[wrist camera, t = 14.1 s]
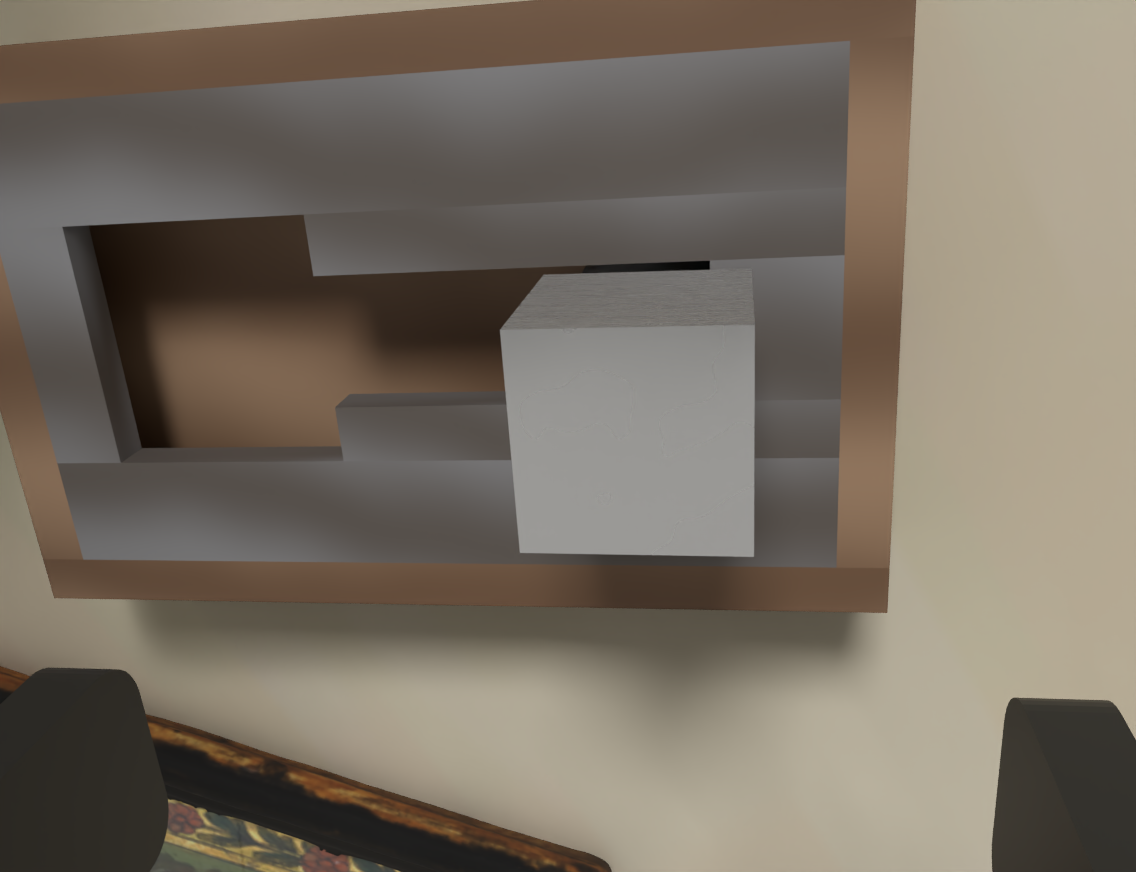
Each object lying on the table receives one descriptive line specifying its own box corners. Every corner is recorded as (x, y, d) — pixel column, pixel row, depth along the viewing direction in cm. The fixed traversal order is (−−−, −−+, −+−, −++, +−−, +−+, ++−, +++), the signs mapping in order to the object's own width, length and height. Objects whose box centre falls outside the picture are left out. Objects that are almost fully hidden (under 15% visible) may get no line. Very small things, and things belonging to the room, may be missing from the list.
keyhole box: (13, 51, 27) (-103, 53, 23) (888, -22, 23) (917, -32, 19) (133, 532, 32) (54, 598, 28) (867, 536, 28) (887, 612, 24)
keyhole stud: (574, 217, 25) (486, 318, 16) (757, 210, 24) (768, 311, 15) (584, 387, 26) (509, 562, 18) (756, 385, 26) (766, 567, 17)
